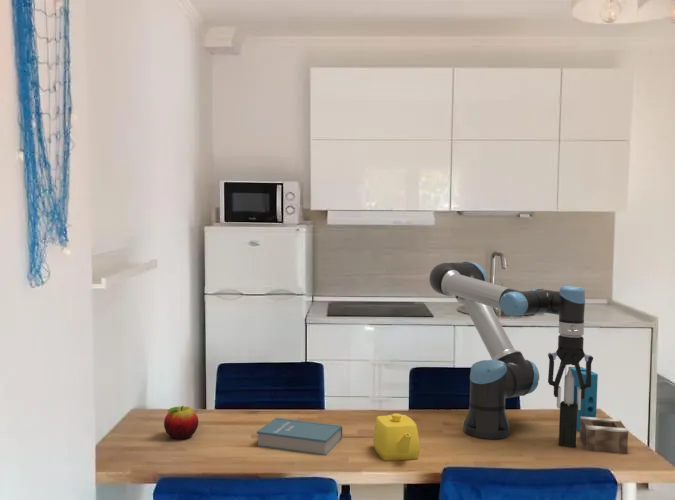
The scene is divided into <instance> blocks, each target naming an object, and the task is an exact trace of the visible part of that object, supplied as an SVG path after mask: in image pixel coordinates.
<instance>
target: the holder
mask: <svg viewBox="0 0 675 500" xmlns="http://www.w3.org/2000/svg"><path fill="white" fill-rule="evenodd" d="M580 418H581V419H580V432H579V439H580V441H581V443H582V445H583V446H584V449H585V451H593V452H604V453H616V454H617V453H618V454H628V445H629V444H628V443H629V430H628V428H626V426H625V425H624V424H623V423H622V420H621V419H618V418H610V417H609V418H607V417H605V418H604V417H596V418H595V417H582V416H580Z"/></svg>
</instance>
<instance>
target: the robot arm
mask: <svg viewBox="0 0 675 500" xmlns="http://www.w3.org/2000/svg"><path fill="white" fill-rule="evenodd" d="M486 279H487V275H486V272H485V270H484V268H483V267H482V266H481V265H480V264H478V263H476V262H470V261H463V262H442V263H439V264H436V266H435V267H433V268H432V270H431V271H430V273H429V279H428V280H429V285H430V286H431V288H432V290H433V291H434V292H436V293H438V294H441V295H443V296H447V297H455V299H456V300H457V302H458V303H460V304H463V306H464V307H465V310H466V311H467V313H468V315H469V317H470V319H471V321H472V323H473V325H474V327H475V329H476V331H477V332H478V334H479V336H480V338H481V341H482V342H483V344H484V347H485V348H486V350H487V352H488V354H489V356H490V358H491V359H489V360H487V359H484V360H479V361H477V362H475V363H473V364H472V366H471V367H470V374H469V407H468V410H467V414H466V416H465V419H464V422H463V432H464V433H465V434H466V435H469V436H472V437H474V438H480V439H486V440H498V439H505V438H508V437H510V435H511V427H510V423H509V420H508V419H509V418H508V416H507V413H506V399H511V398H515V397H519V396H520V397H523V396H526V395H529V394H532V393H533V392H535V390H536V389H537V388H538V385H539V381H540V372H539V369H538V367H537V365H536V364H535V363H534V362H533V361H531V360H529V359H526V358H525V356H524V355H523V353H522V352H521V351H520V350H517V349H515V348H514V346H513V344H512V342H511V340H510V338H509V336H508V335H507V333H506V331H505V329H504V327H503V325H502V324H501V321H500V319H499V318H498V315H497V314H496V313H495V311H494V309H497V310H500V311H502V312H503V314H504V315H506V316H509V317H520V316H526V315H538V314H550V315H552V314H553V315H555V316H556V315H558V333H559V335H558V336H557V338H558V339H557V341H558V342H557V350H556V352H555V351H554V352H552V353H551V352H548V353H547V356H548V359H549V361H548V363H549V364H548V374H547V375H548V378H547V383H548V385H549V386H553V396H554V398H556V408H557V409H560V403H561V402H562V401H561V400H562V399H561V398H562V387H561V386H560V383H561V380H562V377H563V374H564V371H565V369H566V366H570V365H571V366H573V367H575V369H576V373H577V377H578V381H579V384H580V387H577V409H578V410H581V399H584V397H585V389H586V388H588V387H589V388H590V387H591V371H592V362H593V361H594V357H593V356H592V355H591V354H589V355H588V354H587V353H585V351H584V337H583V336H584V334H585V333H584V332H585V331H584V330H585V307H586V296H585V295H586V290H585V289H584V288H583V287H581V286H574V285H564V286H563V285H562V286H561V287H560V288H559V291H557V290H548V289H544V288H533V289H530V290H523V291H522V290H521V291H520V290H518V289H512V288H510V287H506V286H503V285H499V284H496V283H492V282H488V281H487V280H486ZM557 357H558V359H559V360H560V363H559V367H558V370H557V373H556V375H555V379H554V371H555V360H556V359H557ZM583 359H584V362H585V369H586V383H584V381H583V377H582V373H581V369H580V367H581V365H580V363H581V361H582V360H583Z"/></svg>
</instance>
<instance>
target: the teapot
mask: <svg viewBox="0 0 675 500" xmlns="http://www.w3.org/2000/svg"><path fill="white" fill-rule="evenodd" d="M418 431H419V430H418V425H417V424H416V422H415V421H414V420H413V419H412V418H411V417H409V416H408V415H406V414H401V413H392V414H388V415H379V416H376V419H375V425H374V432H373V440H372V441H373V446H374V450H375V452H376V454H377V455H378V456H379V457H380V458H381V459H382V460H384V461H386V462H391V461H393V462H394V461H409V460H410V461H412V460H417V459H419V455H420V437H419V432H418Z"/></svg>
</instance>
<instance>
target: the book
mask: <svg viewBox="0 0 675 500" xmlns="http://www.w3.org/2000/svg"><path fill="white" fill-rule="evenodd" d="M256 434H257V444H256V447H261V448H270V449H275V450H276V449H277V450H283V451H290V452H291V451H292V452H298V453H307V454H311V455H312V454H314V455H321V456H327V455H328V454H329V453H330V452H331V451H332V450H333V449H334V448H335V447H336V446H337V444H339V443H340V442H341V440H342V439H343V425H339V424H333V423H332V424H331V423H326V422H325V423H323V422H314V421H307V420H300V419H299V420H298V419H290V418H282V417H275V418H274V419H272V421H270V422H268V423H267V424H265V425H264V426H263V427H261V428H260V429H257V431H256Z"/></svg>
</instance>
